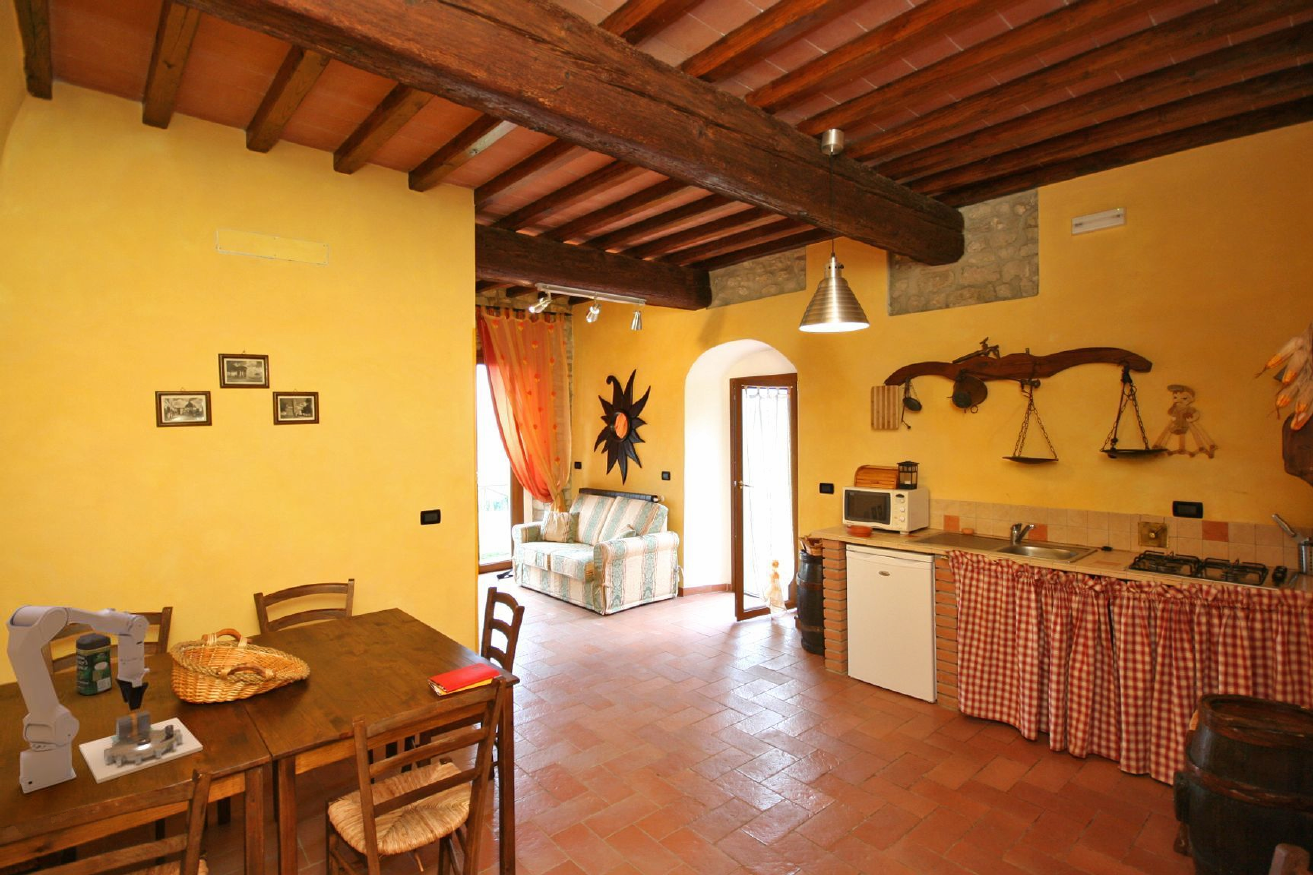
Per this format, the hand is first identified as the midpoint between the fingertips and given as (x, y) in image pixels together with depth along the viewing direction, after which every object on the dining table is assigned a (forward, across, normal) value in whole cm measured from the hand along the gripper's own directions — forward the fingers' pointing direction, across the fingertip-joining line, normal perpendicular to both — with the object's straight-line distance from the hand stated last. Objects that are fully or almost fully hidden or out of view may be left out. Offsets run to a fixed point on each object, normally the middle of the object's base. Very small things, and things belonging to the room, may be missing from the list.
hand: (132, 705), depth 184 cm
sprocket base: (+9, -10, 0) cm, 13 cm away
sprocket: (+8, -14, 0) cm, 16 cm away
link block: (+8, 0, 0) cm, 8 cm away
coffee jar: (+10, +50, +1) cm, 51 cm away
